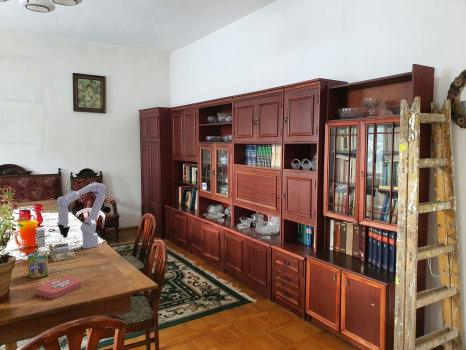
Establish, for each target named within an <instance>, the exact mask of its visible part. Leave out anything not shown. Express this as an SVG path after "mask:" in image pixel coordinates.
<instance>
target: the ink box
mask: <svg viewBox="0 0 466 350" xmlns="http://www.w3.org/2000/svg"><path fill="white" fill-rule="evenodd" d="M36 238H37V245H38V247H37V248H40V247H45V246H46V239H45V238H46V234H45V228H44V227H39V228H37V231H36Z"/></svg>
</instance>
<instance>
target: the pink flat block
mask: <svg viewBox="0 0 466 350" xmlns="http://www.w3.org/2000/svg"><path fill="white" fill-rule="evenodd" d="M81 286H83V281H82V279H78V278H74V277H69V276H64V277H61V278H59V279H54V280H48V281H46V282H45V284H44V285H42V286H39V287H37V288H36V295H37V296H38V295H39V296H38V297H42V296H44V297H43V298H46V297H48V298H47V299H50V298H55V299H57V298H56V297H58V298H60V297H61V295H62V296H64V295H66V294H65V293H67V294H69V293H71V292H73V291H75V290H77V289H76V288H78V289H79V287H80V288H81ZM74 289H75V290H74ZM72 290H73V291H72ZM70 291H71V292H70ZM68 292H69V293H68ZM63 294H64V295H63ZM59 296H60V297H59Z"/></svg>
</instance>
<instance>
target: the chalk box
mask: <svg viewBox="0 0 466 350" xmlns="http://www.w3.org/2000/svg"><path fill="white" fill-rule="evenodd" d="M34 248H35V249H34V250H35V252H30V253H28V256H27V270H28V279H29V278H31V279H37V278H44V277H49V266H48V265H49V263H48V261H49V260H48V251H47V250H46V251H38V249H37V247H34Z"/></svg>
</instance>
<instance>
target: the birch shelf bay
mask: <svg viewBox="0 0 466 350" xmlns="http://www.w3.org/2000/svg"><path fill="white" fill-rule="evenodd" d="M64 246H68V247H69V243H68V242H64V243H57V244H54V246H53V245H52V244H48V251H49V252H48V253H49V256H50V257H51V260H52V261H54V263H55V262H60V261H67V260H73V259H77V258H76V257H77V256H76V255H77V254H76V251H71V250H69V253H65V254H58V255H56V250H55V248H57V247H64Z"/></svg>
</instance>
